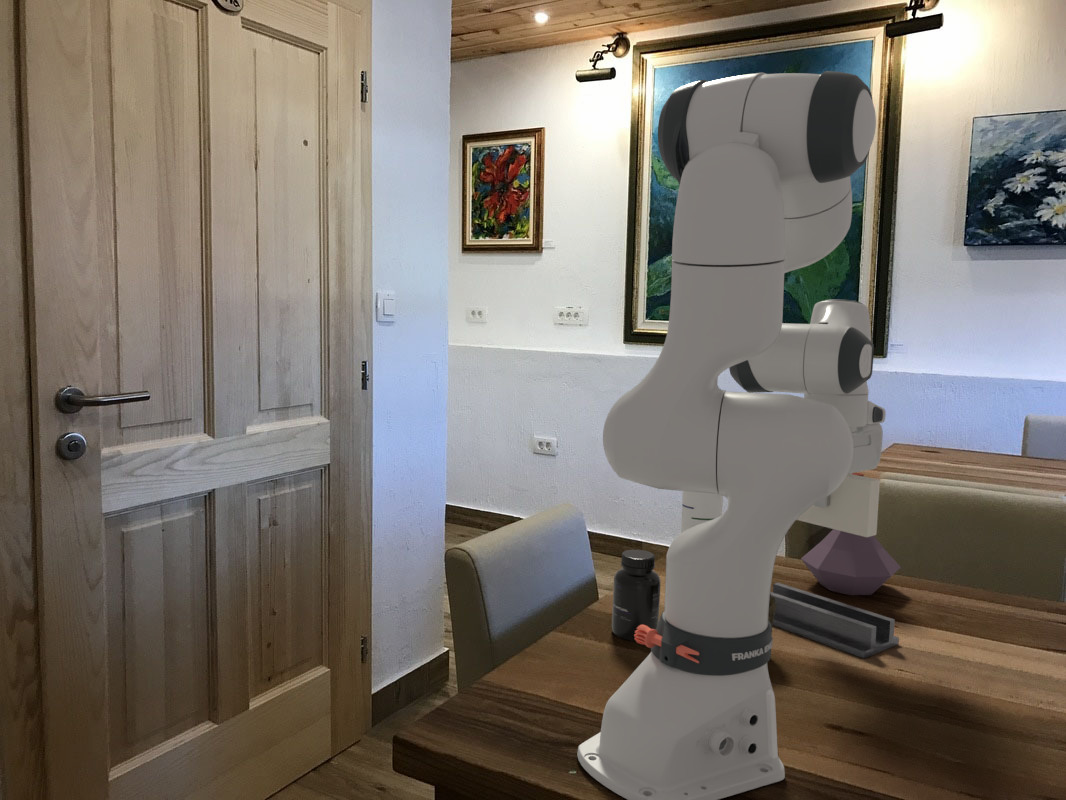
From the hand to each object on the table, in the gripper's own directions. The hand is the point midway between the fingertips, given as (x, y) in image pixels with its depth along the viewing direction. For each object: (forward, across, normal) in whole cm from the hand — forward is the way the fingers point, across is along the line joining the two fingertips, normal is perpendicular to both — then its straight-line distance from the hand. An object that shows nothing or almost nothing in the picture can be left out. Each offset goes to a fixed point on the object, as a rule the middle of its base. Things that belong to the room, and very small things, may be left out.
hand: (829, 504), depth 127 cm
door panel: (+3, 0, 0) cm, 3 cm away
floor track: (+19, 0, 0) cm, 19 cm away
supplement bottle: (+19, -24, +15) cm, 35 cm away
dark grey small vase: (+19, -16, +1) cm, 25 cm away
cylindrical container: (+20, +6, +29) cm, 36 cm away
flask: (+20, +22, +10) cm, 31 cm away
